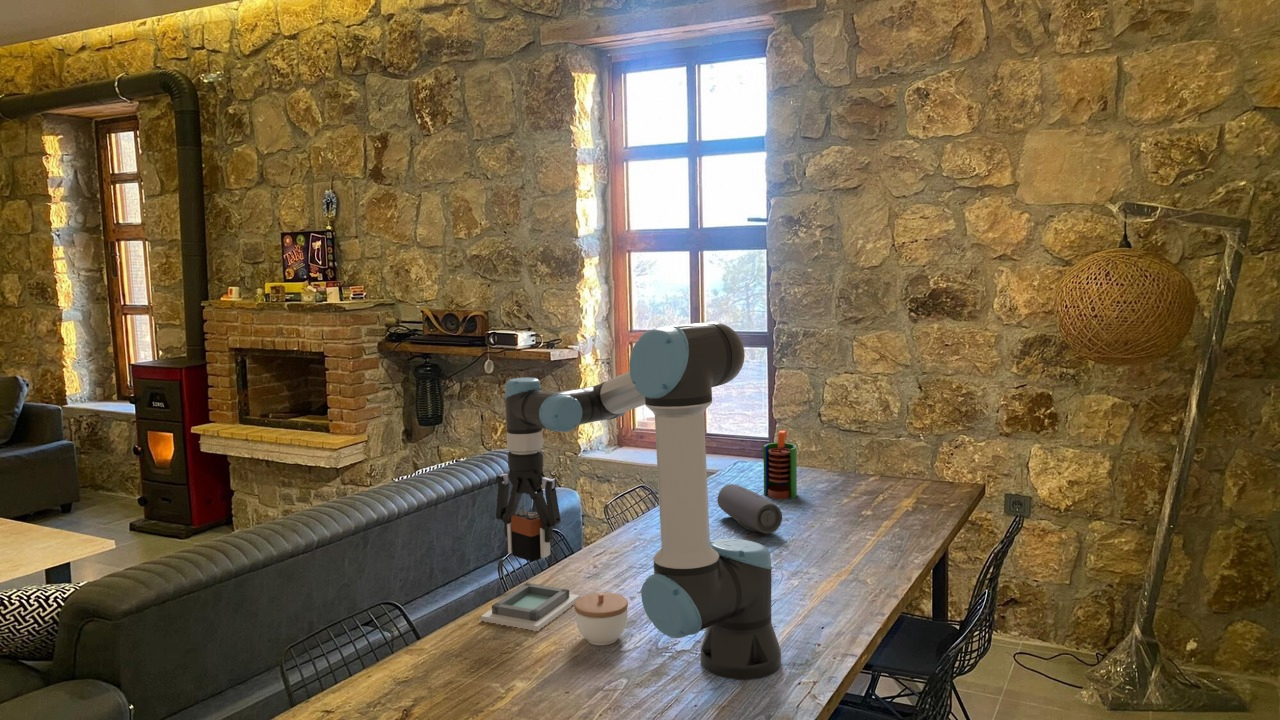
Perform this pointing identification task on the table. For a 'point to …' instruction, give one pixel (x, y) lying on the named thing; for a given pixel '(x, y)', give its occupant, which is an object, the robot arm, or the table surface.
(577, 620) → the lidded jar
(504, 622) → the charging dock
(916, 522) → the table surface
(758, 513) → the bluetooth speaker
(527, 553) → the battery
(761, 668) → the robot arm
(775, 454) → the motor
